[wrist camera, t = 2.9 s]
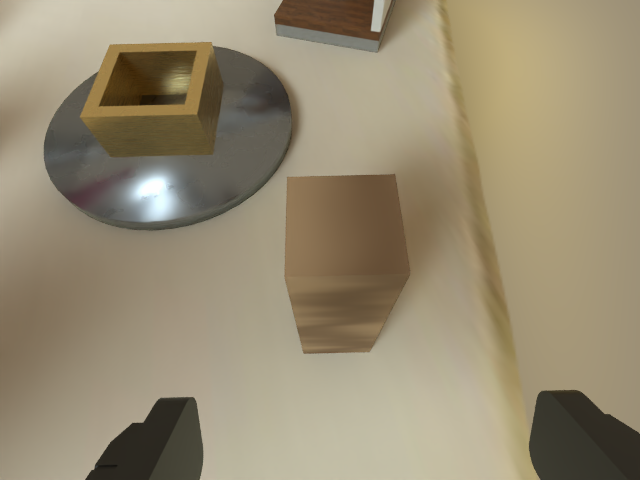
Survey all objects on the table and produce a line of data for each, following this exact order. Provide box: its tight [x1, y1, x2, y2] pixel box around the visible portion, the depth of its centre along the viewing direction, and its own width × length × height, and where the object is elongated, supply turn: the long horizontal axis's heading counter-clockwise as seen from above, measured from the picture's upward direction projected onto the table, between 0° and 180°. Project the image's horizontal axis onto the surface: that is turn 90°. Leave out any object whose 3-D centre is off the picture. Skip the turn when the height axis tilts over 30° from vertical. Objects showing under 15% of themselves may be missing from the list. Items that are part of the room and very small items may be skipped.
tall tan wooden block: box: [285, 174, 410, 354], centre depth 18 cm, size 4×4×12 cm
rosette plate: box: [44, 42, 292, 230], centre depth 29 cm, size 20×20×5 cm
